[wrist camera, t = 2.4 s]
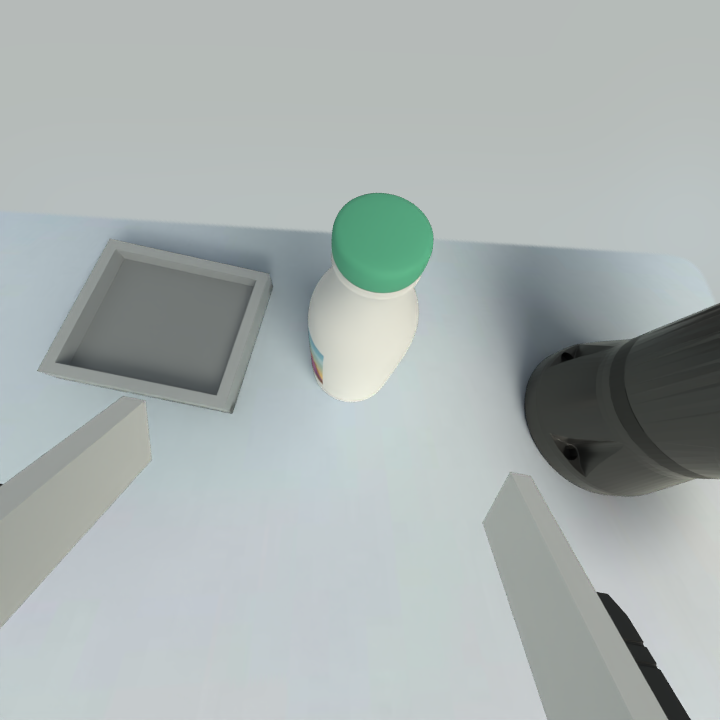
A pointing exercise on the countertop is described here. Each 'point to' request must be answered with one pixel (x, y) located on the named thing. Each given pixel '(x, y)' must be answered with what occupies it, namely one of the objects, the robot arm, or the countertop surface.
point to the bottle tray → (162, 327)
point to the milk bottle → (368, 295)
